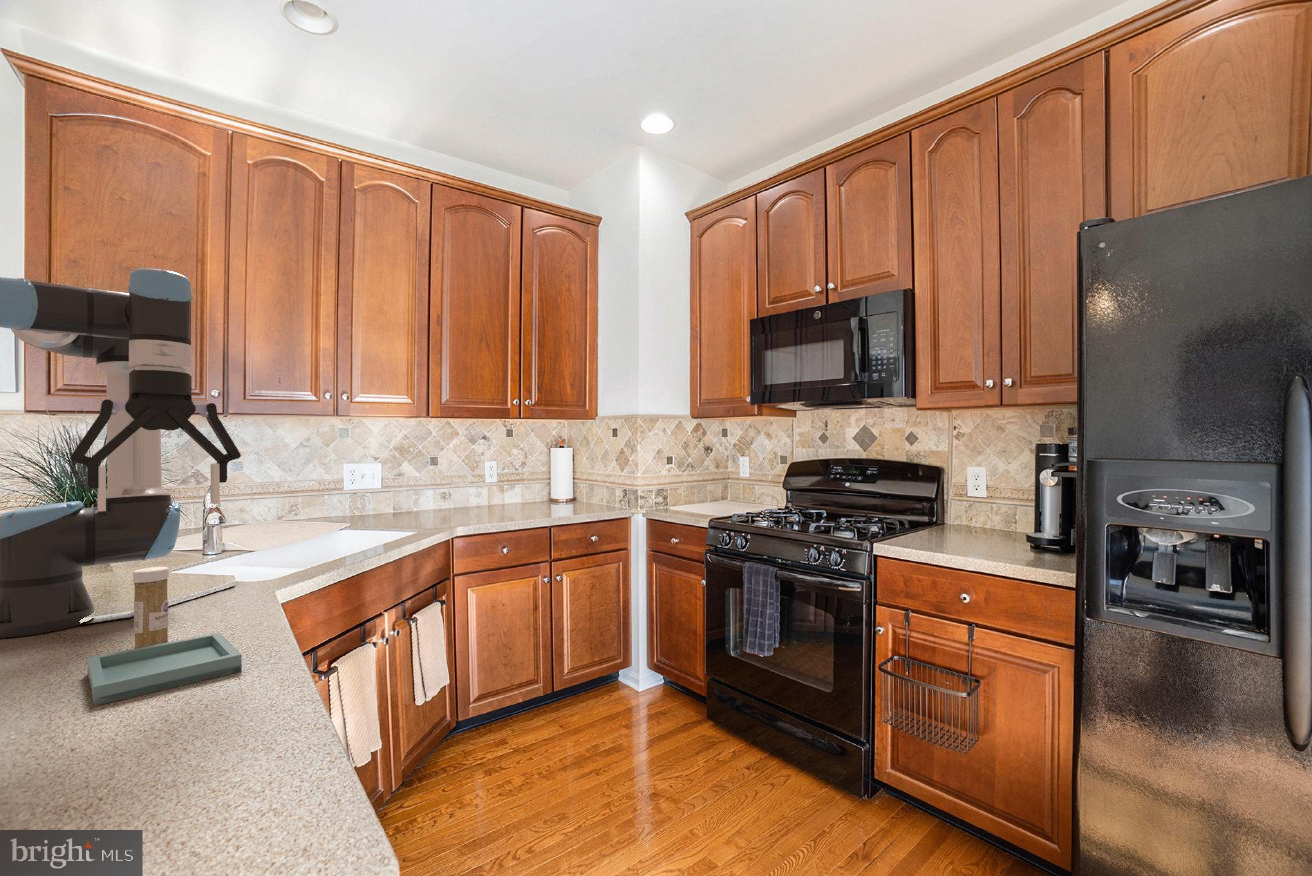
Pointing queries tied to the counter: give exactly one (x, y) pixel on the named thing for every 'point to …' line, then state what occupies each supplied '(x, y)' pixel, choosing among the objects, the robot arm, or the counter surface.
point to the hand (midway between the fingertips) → (161, 507)
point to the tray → (161, 667)
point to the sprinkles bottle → (150, 606)
